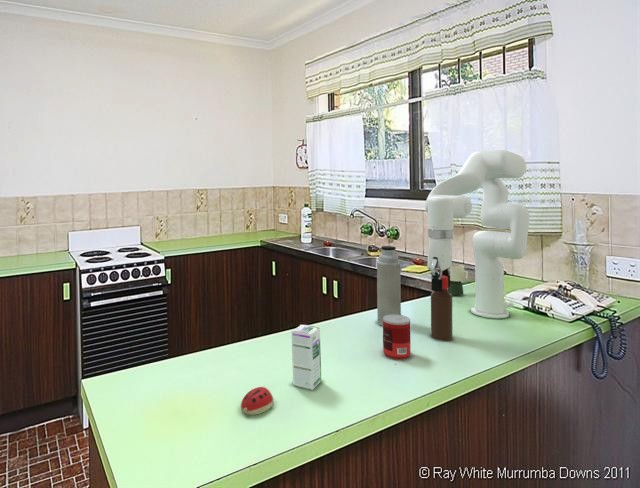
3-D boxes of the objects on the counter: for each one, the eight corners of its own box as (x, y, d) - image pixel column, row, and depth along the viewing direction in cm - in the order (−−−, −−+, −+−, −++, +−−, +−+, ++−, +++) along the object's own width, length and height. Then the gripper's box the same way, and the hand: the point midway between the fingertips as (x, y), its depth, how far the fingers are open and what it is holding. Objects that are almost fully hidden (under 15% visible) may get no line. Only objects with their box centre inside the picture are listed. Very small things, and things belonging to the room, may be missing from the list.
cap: (447, 289, 142) (447, 278, 142) (434, 288, 144) (434, 277, 144) (448, 287, 145) (448, 275, 145) (435, 285, 147) (435, 274, 147)
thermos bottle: (375, 319, 163) (374, 244, 162) (397, 320, 163) (396, 244, 162) (380, 327, 155) (379, 248, 154) (403, 327, 155) (402, 248, 154)
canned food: (414, 353, 132) (414, 317, 132) (403, 362, 127) (403, 324, 126) (390, 347, 138) (389, 312, 137) (378, 355, 132) (378, 319, 131)
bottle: (442, 332, 149) (442, 275, 148) (456, 339, 143) (456, 279, 142) (426, 335, 147) (426, 277, 147) (440, 342, 141) (440, 281, 140)
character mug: (472, 295, 191) (471, 266, 191) (464, 299, 187) (463, 268, 187) (447, 291, 200) (447, 262, 200) (439, 293, 196) (439, 264, 195)
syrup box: (313, 390, 111) (312, 334, 111) (292, 385, 114) (291, 329, 114) (321, 381, 116) (320, 327, 116) (301, 376, 119) (300, 323, 119)
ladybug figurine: (279, 401, 106) (279, 387, 106) (258, 421, 98) (258, 405, 98) (255, 394, 110) (255, 380, 110) (233, 412, 102) (233, 397, 102)
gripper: (438, 230, 153) (438, 281, 153) (418, 236, 140) (419, 292, 141) (461, 232, 148) (461, 285, 148) (443, 238, 135) (443, 296, 135)
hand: (440, 288), depth 144 cm, fingers open, 6 cm apart
